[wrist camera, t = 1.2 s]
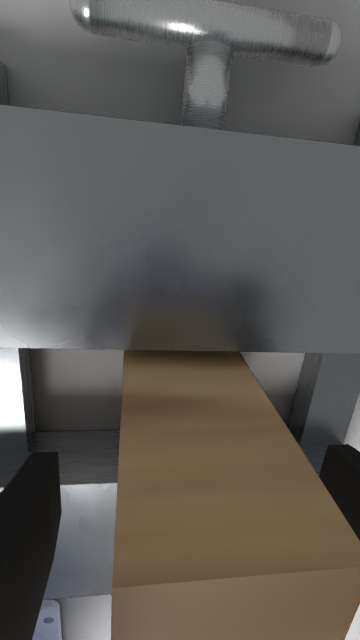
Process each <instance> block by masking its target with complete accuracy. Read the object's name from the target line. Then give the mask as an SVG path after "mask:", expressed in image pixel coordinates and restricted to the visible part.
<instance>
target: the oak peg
mask: <svg viewBox="0 0 360 640" xmlns="http://www.w3.org/2000/svg"><path fill="white" fill-rule="evenodd" d="M359 604H360V541H359V539H358V537H357V536H356V534H355V533H354V531H353V530H352V528H351V526H350V525H349V523H348V522H347V520H346V519H345V517H344V516H343V514H342V512H341V511H340V509H339V508H338V506H337V505H336V503H335V501H334V500H333V498H332V497H331V495H330V494H329V492H328V490H327V489H326V487H325V486H324V484H323V483H322V481H321V479H320V478H319V476H318V475H317V473H316V472H315V470H314V469H313V467H312V465H311V464H310V462H309V461H308V459H307V458H306V456H305V454H304V453H303V451H302V450H301V448H300V447H299V445H298V443H297V442H296V440H295V439H294V437H293V436H292V434H291V432H290V431H289V429H288V428H287V426H286V425H285V423H284V422H283V420H282V418H281V417H280V415H279V414H278V412H277V411H276V409H275V407H274V406H273V404H272V403H271V401H270V400H269V398H268V396H267V395H266V393H265V392H264V390H263V389H262V387H261V385H260V384H259V382H258V381H257V379H256V378H255V376H254V375H253V373H252V371H251V370H250V368H249V367H248V365H247V364H246V362H245V360H244V359H243V357H242V356H241V354H240V353H239V351H179V350H124V364H123V383H122V403H121V422H120V442H119V461H118V480H117V500H116V519H115V539H114V558H113V577H112V616H111V640H344V639H345V637H346V635H347V632H348V630H349V627H350V625H351V623H352V620H353V618H354V616H355V613H356V611H357V608H358V606H359Z"/></svg>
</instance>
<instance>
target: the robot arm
mask: <svg viewBox="0 0 360 640" xmlns="http://www.w3.org/2000/svg"><path fill="white" fill-rule="evenodd" d="M319 478H320V479H321V481H322V483H323V484H324V486H325V487H326V489H327V490H328V492H329V494H330V495H331V497H332V498H333V500H334V501H335V503H336V505H337V506H338V508H339V509H340V511H341V512H342V514H343V516H344V517H345V519H346V520H347V522H348V523H349V525H350V526H351V528H352V530H353V531H354V533H355V534H356V536H357V537H358V539H359V541H360V452H359V451H358V450H356V449H355V448H353V447H352V446H350V445H348V444H346V445H328V447H327V450H326V453H325V457H324V460H323V464H322V467H321V470H320V474H319ZM61 513H62V509H61V492H60V475H59V458H58V452H32V453H31V454H30V455H28V456H27V458H26V459H25V461H24V462H23V463H22V465H21V466H20V467H19V469H18V470H17V471H16V473H15V474H14V475H13V477H12V478H11V479H10V481H9V482H8V483H7V485H6V486H5V487H4V488H3V490H2V491H1V492H0V640H62V634H61V619H60V605H59V603H58V602H57V601H55V600H43V598H44V594H45V590H46V586H47V583H48V579H49V575H50V571H51V567H52V564H53V560H54V555H55V549H56V543H57V538H58V532H59V526H60V519H61Z"/></svg>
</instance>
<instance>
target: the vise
mask: <svg viewBox="0 0 360 640" xmlns="http://www.w3.org/2000/svg"><path fill="white" fill-rule="evenodd" d="M70 9H71V13H72V16H73V18H74V20H75V22H76V23H77V25H78V26H79V27H80V28H81V29H82V30H84V31H85V32H87V33H90V34H95V35H102V36H109V37H115V38H122V39H129V40H135V41H142V42H149V43H155V44H162V45H169V46H175V47H182V48H187V53H186V67H185V80H184V94H183V108H182V122H181V125H173V124H164V123H156V122H147V121H138V120H129V119H121V118H112V117H103V116H95V115H86V114H77V113H69V112H60V111H51V110H43V109H34V108H25V107H17V106H9V98H8V86H7V74H6V66H5V65H4V64H3V63H2V62H1V61H0V492H1V491H2V490H3V488H4V487H5V486H6V485H7V483H8V482H9V481H10V479H11V478H12V477H13V475H14V474H15V473H16V471H17V470H18V469H19V467H20V466H21V465H22V463H23V462H24V461H25V459H26V458H27V456H28V455H30V454H31V453H32V452H58V458H59V475H60V492H61V509H62V513H61V519H60V526H59V532H58V538H57V543H56V549H55V555H54V560H53V564H52V567H51V571H50V575H49V579H48V583H47V586H46V590H45V594H44V598H43V600H49V599H60V598H71V597H83V596H94V595H106V594H112V577H113V558H114V539H115V519H116V500H117V480H118V461H119V442H120V430H108V431H52V432H36V421H35V409H34V397H33V385H32V373H31V361H30V349H29V348H57V349H118V350H179V351H240V352H301V353H306V354H305V358H304V362H303V366H302V370H301V375H300V379H299V383H298V387H297V392H296V396H295V400H294V404H293V409H292V413H291V417H290V421H289V426H288V427H287V428H288V429H289V431H290V432H291V434H292V436H293V437H294V439H295V440H296V442H297V443H298V445H299V447H300V448H301V450H302V451H303V453H304V454H305V456H306V458H307V459H308V461H309V462H310V464H311V465H312V467H313V469H314V470H315V472H316V473H317V475H318V476H319V474H320V470H321V467H322V464H323V460H324V457H325V453H326V450H327V447H328V445H343V443H344V439H345V436H346V433H347V430H348V427H349V423H350V420H351V417H352V414H353V410H354V407H355V404H356V401H357V398H358V394H359V391H360V125H359V129H358V133H357V137H356V142H355V145H347V144H338V143H329V142H321V141H312V140H303V139H294V138H286V137H277V136H268V135H260V134H251V133H242V132H234V131H225V130H224V126H225V117H226V108H227V100H228V91H229V82H230V73H231V64H232V55H236V56H242V57H249V58H256V59H262V60H269V61H276V62H283V63H289V64H296V65H303V66H309V67H322V66H324V65H326V64H328V63H329V62H331V61H332V60H333V58H334V57H335V56H336V55H337V53H338V51H339V48H340V45H341V39H342V36H341V31H340V28H339V26H338V25H337V24H336V23H335V22H334V21H331V20H328V19H322V18H316V17H310V16H305V15H299V14H293V13H287V12H282V11H276V10H270V9H264V8H258V7H253V6H247V5H241V4H235V3H229V2H224V1H218V0H70Z"/></svg>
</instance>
